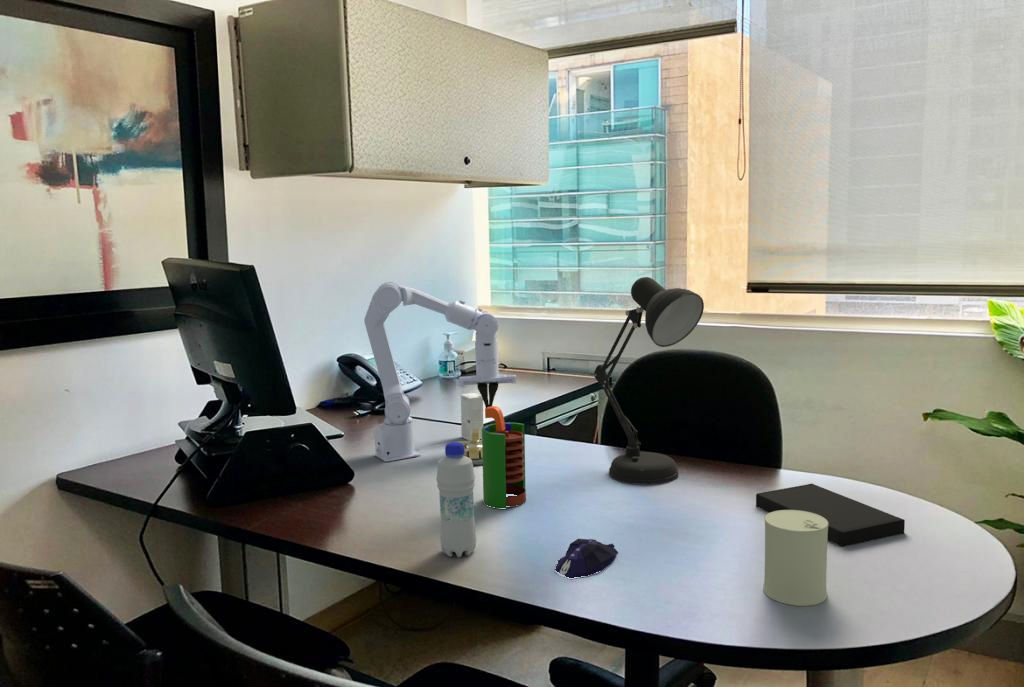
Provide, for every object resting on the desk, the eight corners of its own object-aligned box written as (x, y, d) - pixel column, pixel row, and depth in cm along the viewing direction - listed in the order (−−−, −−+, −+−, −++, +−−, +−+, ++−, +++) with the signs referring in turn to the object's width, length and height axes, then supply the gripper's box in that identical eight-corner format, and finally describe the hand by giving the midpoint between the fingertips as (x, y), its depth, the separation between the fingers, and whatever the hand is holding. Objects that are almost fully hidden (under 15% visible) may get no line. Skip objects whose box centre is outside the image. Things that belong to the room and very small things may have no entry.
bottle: (458, 542, 146) (453, 435, 144) (485, 550, 142) (481, 440, 139) (431, 554, 141) (426, 443, 139) (459, 563, 137) (454, 449, 134)
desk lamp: (703, 494, 168) (703, 279, 161) (580, 489, 174) (576, 281, 167) (704, 461, 191) (704, 272, 185) (596, 457, 197) (592, 274, 191)
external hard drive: (842, 549, 139) (842, 532, 138) (755, 508, 160) (755, 493, 160) (904, 535, 144) (904, 519, 143) (812, 497, 165) (812, 483, 165)
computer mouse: (534, 571, 134) (534, 548, 133) (589, 543, 145) (588, 522, 144) (578, 586, 128) (578, 562, 127) (632, 556, 138) (631, 534, 138)
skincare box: (460, 437, 221) (459, 394, 220) (475, 434, 224) (473, 392, 222) (470, 442, 216) (468, 397, 214) (485, 439, 218) (483, 395, 216)
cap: (463, 469, 191) (463, 455, 191) (440, 456, 203) (440, 443, 202) (510, 460, 198) (510, 446, 197) (486, 448, 209) (485, 435, 208)
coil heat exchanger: (521, 510, 162) (518, 413, 159) (478, 508, 164) (474, 413, 161) (530, 493, 172) (527, 402, 169) (489, 492, 174) (486, 402, 171)
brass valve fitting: (465, 461, 192) (464, 444, 192) (443, 450, 203) (442, 433, 203) (505, 453, 198) (504, 437, 197) (481, 443, 209) (481, 427, 208)
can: (803, 612, 116) (804, 533, 114) (750, 590, 123) (751, 515, 122) (839, 594, 121) (841, 518, 120) (787, 574, 129) (788, 502, 127)
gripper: (515, 356, 209) (517, 407, 211) (459, 358, 209) (461, 409, 211) (515, 360, 202) (517, 413, 204) (457, 362, 202) (460, 415, 204)
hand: (489, 411), depth 207 cm, fingers closed
